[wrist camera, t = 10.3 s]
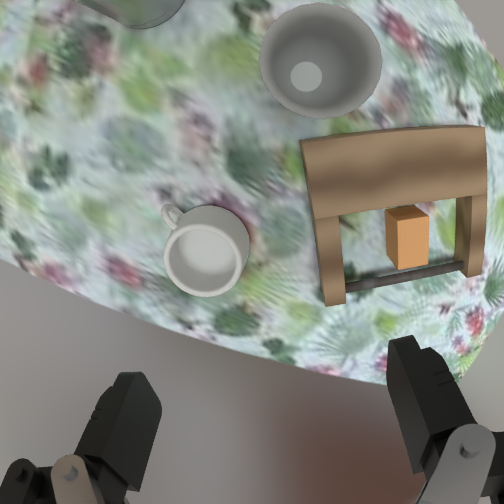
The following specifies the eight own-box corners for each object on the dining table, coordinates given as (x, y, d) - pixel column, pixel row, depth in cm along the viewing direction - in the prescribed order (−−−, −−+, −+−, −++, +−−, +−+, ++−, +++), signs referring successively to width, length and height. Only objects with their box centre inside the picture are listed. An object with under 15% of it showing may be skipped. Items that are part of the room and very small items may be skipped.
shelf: (298, 140, 34) (302, 143, 30) (467, 124, 31) (484, 127, 27) (321, 289, 41) (325, 306, 37) (467, 261, 38) (481, 274, 34)
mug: (267, 246, 39) (266, 269, 34) (209, 289, 42) (201, 315, 37) (199, 172, 36) (186, 182, 31) (145, 223, 39) (126, 241, 33)
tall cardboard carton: (384, 209, 36) (397, 221, 32) (413, 204, 36) (428, 216, 32) (386, 254, 39) (398, 270, 35) (414, 249, 38) (427, 264, 34)
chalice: (289, 45, 29) (305, -18, 13) (341, 79, 31) (403, 50, 14) (252, 96, 32) (233, 76, 16) (305, 130, 33) (336, 143, 17)
